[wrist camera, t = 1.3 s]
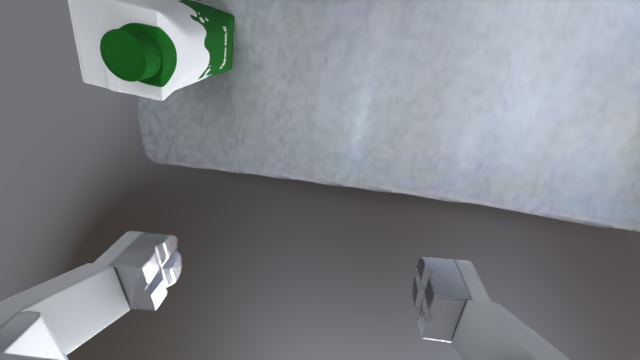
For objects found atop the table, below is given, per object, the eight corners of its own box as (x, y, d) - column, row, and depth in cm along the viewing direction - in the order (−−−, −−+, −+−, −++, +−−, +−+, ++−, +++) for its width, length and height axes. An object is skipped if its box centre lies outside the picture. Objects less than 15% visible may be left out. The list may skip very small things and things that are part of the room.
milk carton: (237, 76, 44) (155, 115, 26) (177, 63, 44) (56, 92, 27) (241, 9, 40) (146, 1, 22) (175, -6, 40) (29, -26, 22)
